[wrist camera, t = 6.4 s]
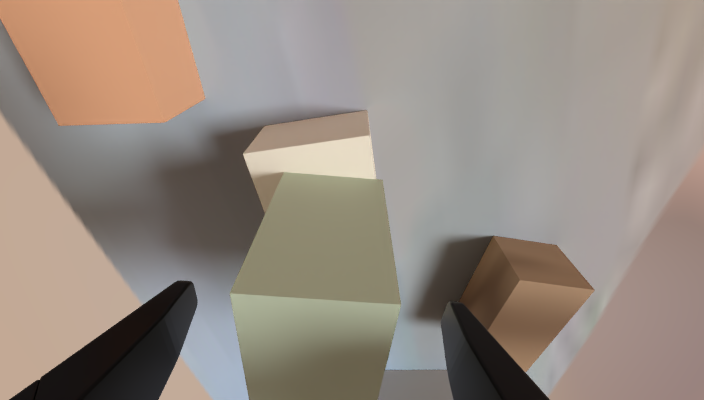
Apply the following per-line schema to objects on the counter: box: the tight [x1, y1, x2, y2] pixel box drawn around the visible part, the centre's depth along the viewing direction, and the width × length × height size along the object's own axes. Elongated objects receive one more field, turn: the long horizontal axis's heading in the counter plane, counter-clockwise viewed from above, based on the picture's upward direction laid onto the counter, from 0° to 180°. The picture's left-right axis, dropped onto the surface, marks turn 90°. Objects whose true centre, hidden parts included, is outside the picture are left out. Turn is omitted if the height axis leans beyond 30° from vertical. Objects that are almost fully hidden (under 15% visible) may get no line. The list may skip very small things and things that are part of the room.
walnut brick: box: [459, 236, 594, 372], centre depth 15 cm, size 6×3×3 cm, turn 171°
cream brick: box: [243, 110, 376, 213], centre depth 13 cm, size 8×4×3 cm, turn 9°
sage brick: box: [230, 172, 401, 400], centre depth 9 cm, size 6×3×5 cm, turn 175°
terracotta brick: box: [0, 0, 205, 126], centre depth 9 cm, size 6×3×3 cm, turn 2°
